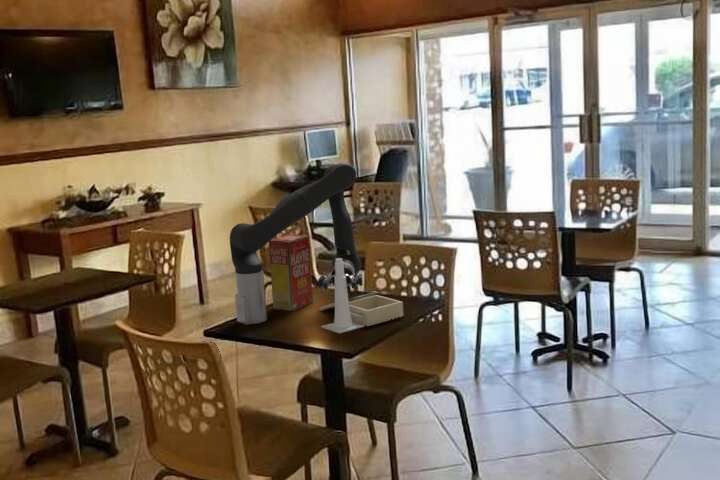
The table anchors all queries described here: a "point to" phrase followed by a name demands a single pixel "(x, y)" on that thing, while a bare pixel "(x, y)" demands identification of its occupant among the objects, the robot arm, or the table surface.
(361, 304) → the case
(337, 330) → the mat
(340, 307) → the cosmetic bottle
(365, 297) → the lid
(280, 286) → the food packaging
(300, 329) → the table surface
